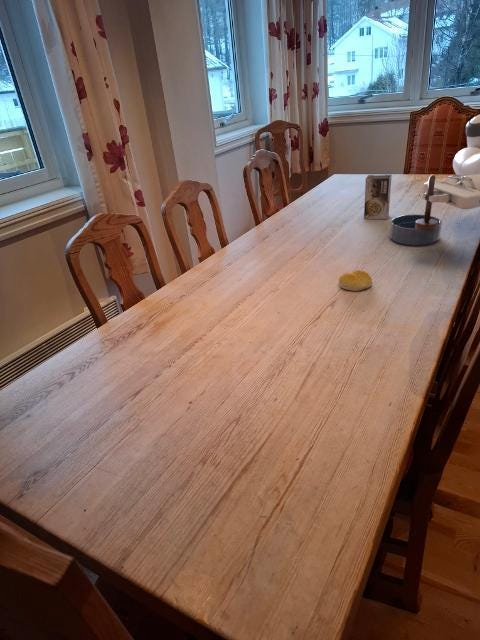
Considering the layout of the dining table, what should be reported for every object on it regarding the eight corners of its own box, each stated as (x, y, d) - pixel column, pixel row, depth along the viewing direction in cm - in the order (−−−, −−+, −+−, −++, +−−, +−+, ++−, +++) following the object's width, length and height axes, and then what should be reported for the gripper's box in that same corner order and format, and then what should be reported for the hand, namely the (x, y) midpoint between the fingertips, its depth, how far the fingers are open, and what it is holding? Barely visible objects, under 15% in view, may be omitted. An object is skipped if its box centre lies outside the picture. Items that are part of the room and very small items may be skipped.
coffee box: (389, 215, 174) (392, 174, 166) (386, 219, 169) (390, 177, 161) (366, 214, 178) (368, 174, 170) (363, 218, 173) (365, 177, 165)
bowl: (437, 231, 154) (440, 214, 151) (440, 247, 141) (443, 229, 138) (390, 230, 159) (391, 214, 156) (388, 245, 146) (390, 228, 143)
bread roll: (333, 283, 125) (334, 270, 123) (360, 277, 127) (361, 264, 125) (348, 294, 118) (349, 281, 116) (377, 287, 120) (378, 274, 118)
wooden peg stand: (436, 224, 129) (443, 172, 121) (437, 231, 124) (445, 177, 116) (414, 224, 131) (420, 173, 123) (415, 231, 126) (421, 177, 118)
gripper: (493, 210, 117) (448, 218, 115) (446, 194, 135) (406, 200, 133) (498, 187, 114) (451, 194, 112) (450, 173, 132) (408, 180, 130)
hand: (426, 197), depth 123 cm, fingers closed on wooden peg stand
